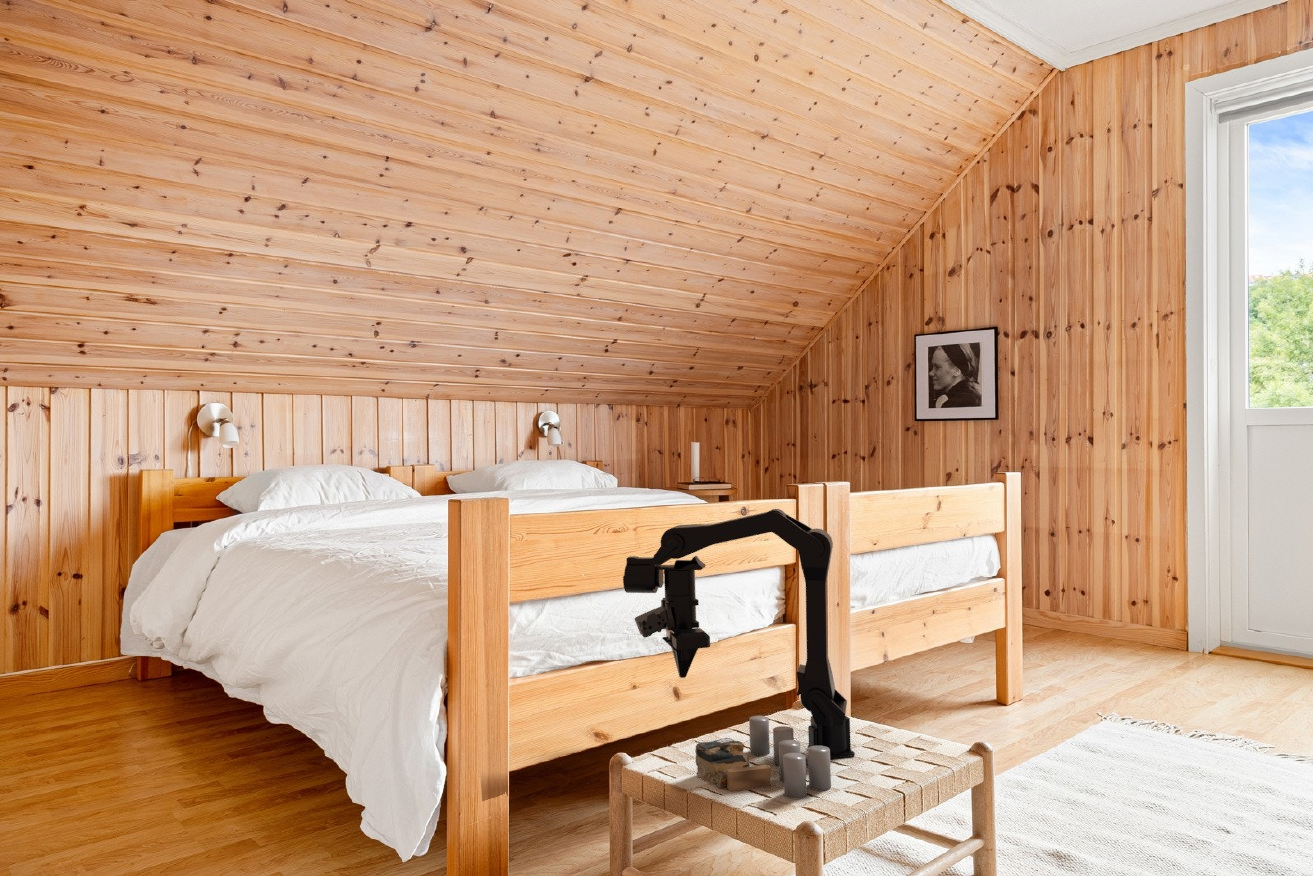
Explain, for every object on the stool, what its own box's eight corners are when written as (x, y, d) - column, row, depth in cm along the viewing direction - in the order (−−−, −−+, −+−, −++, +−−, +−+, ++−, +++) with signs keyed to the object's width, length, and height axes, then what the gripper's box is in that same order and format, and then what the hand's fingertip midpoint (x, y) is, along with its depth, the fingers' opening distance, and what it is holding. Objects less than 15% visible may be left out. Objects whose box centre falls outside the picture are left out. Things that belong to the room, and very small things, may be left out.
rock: (721, 792, 144) (720, 756, 144) (689, 774, 152) (688, 740, 152) (764, 780, 149) (763, 745, 149) (730, 763, 157) (729, 731, 157)
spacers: (786, 745, 164) (785, 713, 164) (839, 793, 141) (838, 755, 141) (742, 750, 163) (741, 717, 163) (788, 800, 140) (787, 761, 140)
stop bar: (768, 783, 147) (767, 764, 147) (771, 786, 145) (770, 767, 145) (727, 787, 145) (726, 769, 145) (729, 791, 144) (729, 772, 144)
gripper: (628, 588, 174) (630, 668, 174) (648, 605, 156) (650, 694, 156) (683, 585, 177) (686, 664, 176) (709, 600, 158) (712, 689, 158)
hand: (682, 677), depth 167 cm, fingers closed
